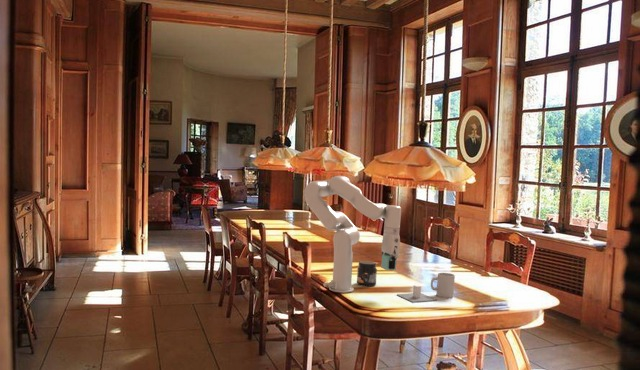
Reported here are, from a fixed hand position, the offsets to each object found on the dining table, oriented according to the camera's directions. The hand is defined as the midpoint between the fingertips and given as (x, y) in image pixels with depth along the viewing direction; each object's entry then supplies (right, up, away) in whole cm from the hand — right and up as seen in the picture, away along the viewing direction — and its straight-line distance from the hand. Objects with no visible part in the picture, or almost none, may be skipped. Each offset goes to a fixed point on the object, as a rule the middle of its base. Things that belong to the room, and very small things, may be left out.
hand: (388, 267), depth 262 cm
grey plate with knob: (+14, -16, +3) cm, 21 cm away
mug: (+28, -16, +10) cm, 34 cm away
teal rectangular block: (0, -1, 0) cm, 1 cm away
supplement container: (-9, -14, +26) cm, 31 cm away
